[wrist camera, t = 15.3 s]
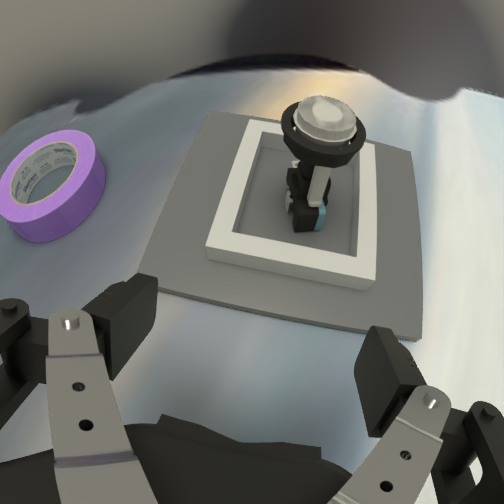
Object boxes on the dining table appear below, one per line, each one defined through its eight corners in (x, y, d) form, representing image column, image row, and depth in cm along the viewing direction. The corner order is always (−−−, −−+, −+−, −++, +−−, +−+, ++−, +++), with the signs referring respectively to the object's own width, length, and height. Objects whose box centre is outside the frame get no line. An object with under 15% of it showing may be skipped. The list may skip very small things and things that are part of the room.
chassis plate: (137, 285, 24) (125, 268, 21) (210, 117, 33) (208, 96, 31) (415, 341, 22) (434, 331, 19) (407, 157, 31) (417, 138, 29)
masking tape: (105, 140, 32) (95, 115, 29) (110, 222, 27) (95, 196, 23) (20, 174, 30) (6, 152, 27) (9, 257, 25) (-12, 238, 22)
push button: (265, 173, 28) (272, 77, 19) (323, 171, 28) (347, 80, 20) (276, 238, 25) (292, 142, 16) (341, 233, 25) (382, 143, 16)
